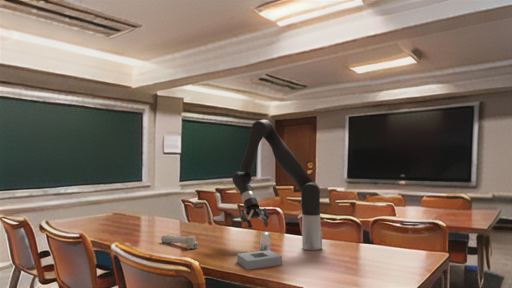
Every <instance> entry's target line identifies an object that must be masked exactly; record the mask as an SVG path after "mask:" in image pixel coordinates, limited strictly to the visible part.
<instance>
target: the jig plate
mask: <svg viewBox="0 0 512 288" xmlns="http://www.w3.org/2000/svg"><path fill="white" fill-rule="evenodd" d="M236 261H237V263H238V264H239V265H241V266H242V267H244V268H245V269H246V270H254V269H261V268H269V267H274V266H275V267H276V266H282V265H283V257H282V255H279V254H278V253H276V252H274V251H272V250H271V251H270V250H265V251H261V250H259V251H258V250H257V251H251V252H250V251H249V252H244V253H243V252H242V253H237V254H236Z"/></svg>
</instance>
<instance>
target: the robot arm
mask: <svg viewBox="0 0 512 288" xmlns="http://www.w3.org/2000/svg"><path fill="white" fill-rule="evenodd" d="M262 139H265V141H266V142H267V143H268V145H269V146H270V148H271V152H272V154H273V158H274V160H276V163H277V164H278V166H280V168H281V169H282V170H283V171H284V172H285V173H286V174H287V175H288V176H289V177H290V178H291V179H293V180H294V182H295V184H297V186H298V188H299V189H300V192H301V193H300V195H301V196H300V197H301V199H300V200H301V220H302V221H301V232H302V234H301V235H302V236H301V240H302V241H301V243H302V245H301V246H302V247H301V248H302V249H304V250H307V251H318V250H321V249H323V230H322V229H321V207H320V206H321V198H320V197H321V189H320V187H319V185H318V184H317V183H316V182H315V181H314V180H313V179H312V178H311V177H310V176H309V175H308V174H307V172H306V171H305V169H304V167H303V166H302V164H301V163H300V162H299V160H298V159H297V157H296V156H295V155H294V153H293V152H292V151H291V150H290V148H289V147H288V146H287V144H286V143H285V141H283V140H282V138H281V137H280V135H279V134H278V133H277V130H276V129H275V128H274V125H273V124H272V122H270V120H268V119H260V120H256V121H254V122H253V123H252V125H251V128H250V133H249V138H248V143H247V146H246V149H245V153H244V155H243V157H242V159H241V163H240V165H239V166H240V169H241V170H243V171H244V172H243V171H235V172H234V173H233V174H232V178H231V179H232V182H233V185H234V186H235V188H236V189H237V191H239V193H240V196H241V201H242V202H241V203H242V204H243V207H244V209H241V211H240V216H241V221H242V222H243V223H244V222H245V223H246V224H247V225H246V226H247V227H248V228H249V229H253V224H252V220H251V219H259V220H261V221H262V222H263V225H264V228H268V225H269V222H268V220H269V218H270V214H269V213H268V210H267V208H266V207H264V208H262V209H261V208H260V204H259V202H258V200H257V197H256V194H255V192H254V189H253V187H252V185H251V184H250V183H251V182H252V175H253V168H254V166H255V164H256V161H257V158H258V157H257V156H258V148H259V146H260V143H261V141H262ZM246 215H247V216H248V217H247V216H246Z"/></svg>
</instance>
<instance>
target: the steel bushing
mask: <svg viewBox="0 0 512 288" xmlns="http://www.w3.org/2000/svg"><path fill="white" fill-rule="evenodd" d="M259 234H260V236H259V237H260V246H259V247H260V251H265V250H270V251H272V232H268V231H263V232H260V233H259Z"/></svg>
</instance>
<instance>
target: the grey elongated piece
mask: <svg viewBox="0 0 512 288" xmlns="http://www.w3.org/2000/svg"><path fill="white" fill-rule="evenodd" d="M160 241H161V242H162V243H164V244H185V245H186V249H187V250H191V249H193V250H194V249H198V241H196V236H195V235H193V236H192V235H191V236H180V235H170V234H167V235H163V236H161V239H160Z"/></svg>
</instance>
